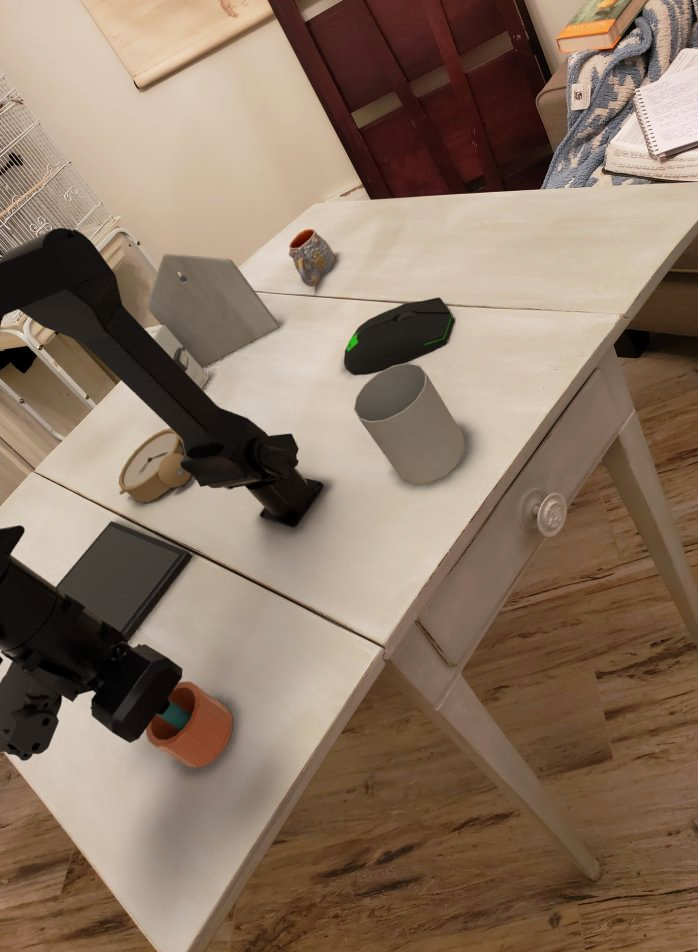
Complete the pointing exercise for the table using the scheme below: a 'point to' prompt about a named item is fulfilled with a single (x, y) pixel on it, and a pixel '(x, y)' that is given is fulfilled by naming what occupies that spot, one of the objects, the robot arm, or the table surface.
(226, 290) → the grey house-shaped block
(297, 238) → the mug
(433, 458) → the cup
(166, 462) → the alarm clock
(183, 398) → the robot arm
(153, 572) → the tablet
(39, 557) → the table surface
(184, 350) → the ink box
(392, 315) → the computer mouse
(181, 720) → the stylus
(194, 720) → the pen pot
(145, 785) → the table surface
